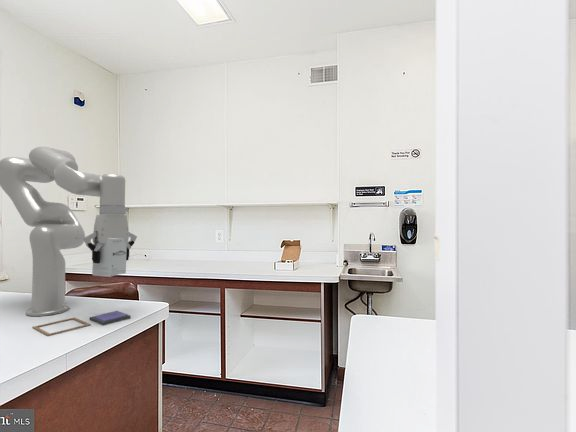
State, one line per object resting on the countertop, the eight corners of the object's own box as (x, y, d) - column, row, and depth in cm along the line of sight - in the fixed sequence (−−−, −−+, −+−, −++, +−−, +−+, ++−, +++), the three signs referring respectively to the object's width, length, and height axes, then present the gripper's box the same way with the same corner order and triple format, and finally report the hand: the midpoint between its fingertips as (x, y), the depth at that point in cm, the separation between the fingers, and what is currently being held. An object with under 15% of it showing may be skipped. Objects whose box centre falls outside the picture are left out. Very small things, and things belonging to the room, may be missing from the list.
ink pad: (89, 320, 105) (89, 316, 105) (116, 313, 113) (116, 310, 113) (103, 325, 100) (103, 321, 100) (130, 318, 108) (130, 314, 108)
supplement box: (110, 277, 103) (111, 238, 103) (91, 275, 104) (92, 237, 104) (126, 273, 110) (127, 237, 110) (108, 272, 111) (109, 236, 111)
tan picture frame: (32, 328, 97) (32, 326, 97) (74, 318, 107) (74, 317, 107) (47, 336, 91) (47, 334, 91) (90, 325, 100) (90, 324, 100)
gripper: (130, 211, 116) (129, 258, 116) (79, 210, 102) (77, 263, 102) (142, 211, 112) (141, 259, 112) (90, 210, 98) (89, 265, 98)
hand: (111, 261), depth 107 cm, fingers closed on supplement box, 9 cm apart
